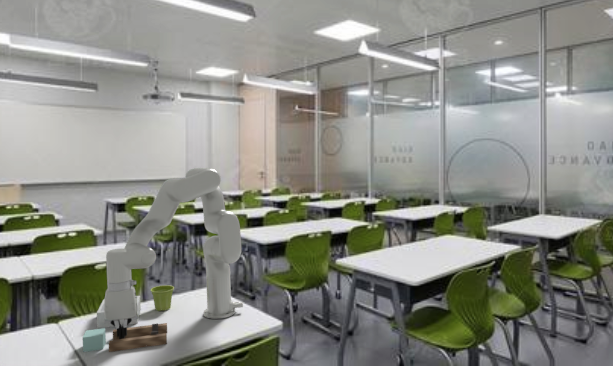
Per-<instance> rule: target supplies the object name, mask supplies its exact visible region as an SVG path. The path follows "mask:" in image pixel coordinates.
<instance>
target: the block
mask: <svg viewBox="0 0 613 366" xmlns="http://www.w3.org/2000/svg"><path fill="white" fill-rule="evenodd" d="M106 335H107V333H106V328H98V329H97V328H95V329H88V330H85V332H84V334H83V336H82V351H83V353H84V352H85V353H87V352H92V351H93V352H95V351H100V350H104V349H105V346H106V342H107V339H106Z"/></svg>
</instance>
